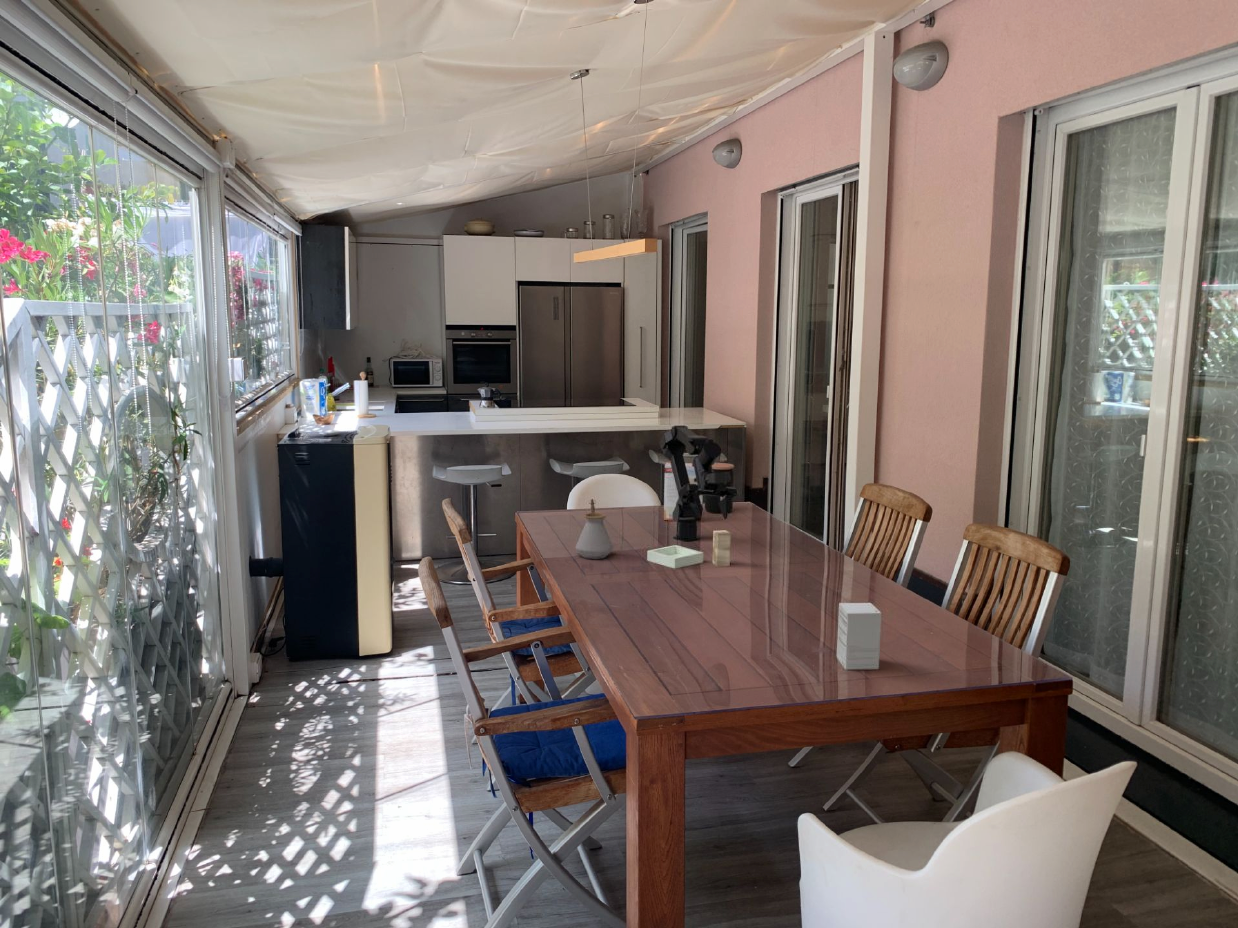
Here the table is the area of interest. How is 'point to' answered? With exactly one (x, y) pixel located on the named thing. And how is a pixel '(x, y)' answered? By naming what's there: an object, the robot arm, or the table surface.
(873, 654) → the supplement box
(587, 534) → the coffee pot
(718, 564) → the handle block
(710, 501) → the coffee jar
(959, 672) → the table surface
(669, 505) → the cracker box
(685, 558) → the tray
